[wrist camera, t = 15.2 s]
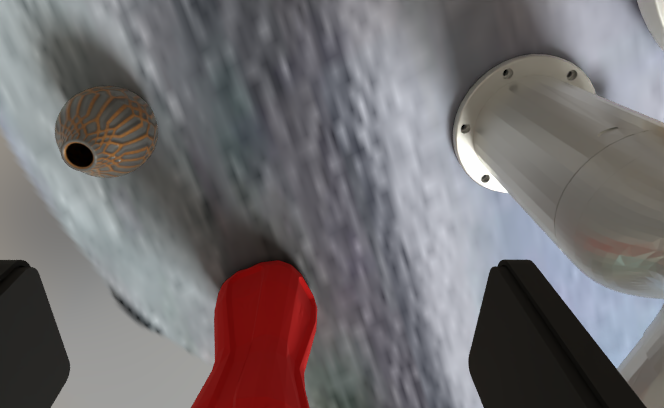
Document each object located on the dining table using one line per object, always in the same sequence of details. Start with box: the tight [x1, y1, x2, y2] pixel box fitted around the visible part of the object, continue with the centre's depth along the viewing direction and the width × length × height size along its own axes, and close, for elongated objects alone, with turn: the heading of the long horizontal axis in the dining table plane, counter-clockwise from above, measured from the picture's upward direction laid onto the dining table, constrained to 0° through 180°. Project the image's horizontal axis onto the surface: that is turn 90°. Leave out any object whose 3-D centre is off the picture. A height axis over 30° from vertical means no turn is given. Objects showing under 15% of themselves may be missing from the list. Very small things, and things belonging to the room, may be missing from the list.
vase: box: [55, 86, 158, 178], centre depth 34 cm, size 7×7×9 cm
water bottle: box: [191, 260, 317, 408], centre depth 36 cm, size 9×11×25 cm
